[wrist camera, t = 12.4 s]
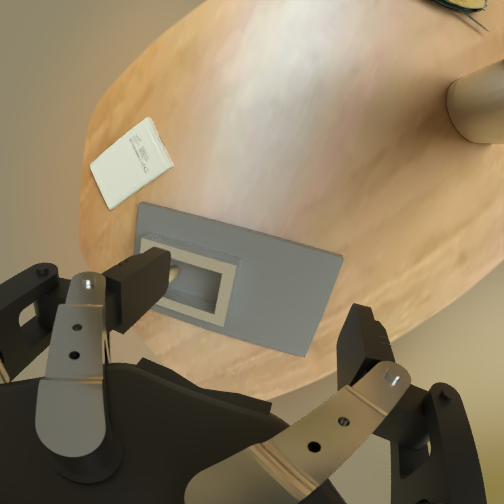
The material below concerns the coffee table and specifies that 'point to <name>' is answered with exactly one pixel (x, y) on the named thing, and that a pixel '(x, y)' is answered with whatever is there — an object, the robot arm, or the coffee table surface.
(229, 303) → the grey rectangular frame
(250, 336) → the board
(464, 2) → the pulley block
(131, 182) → the external hard drive
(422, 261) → the coffee table surface
